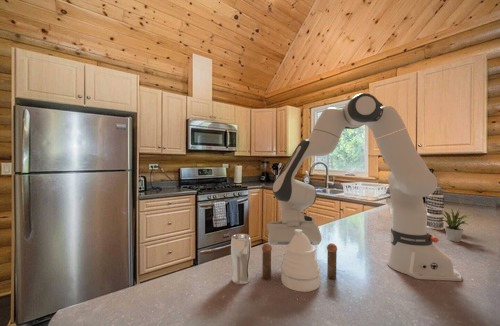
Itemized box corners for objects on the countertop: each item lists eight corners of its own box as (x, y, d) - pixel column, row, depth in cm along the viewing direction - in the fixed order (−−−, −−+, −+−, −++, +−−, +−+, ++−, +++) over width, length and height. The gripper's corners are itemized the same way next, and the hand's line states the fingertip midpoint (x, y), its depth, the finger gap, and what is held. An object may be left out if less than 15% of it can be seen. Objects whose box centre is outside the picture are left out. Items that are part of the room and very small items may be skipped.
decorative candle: (425, 228, 143) (426, 187, 143) (424, 224, 151) (425, 185, 151) (444, 230, 138) (445, 188, 138) (443, 227, 146) (443, 186, 146)
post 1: (272, 276, 84) (272, 242, 84) (270, 280, 81) (270, 246, 81) (263, 274, 85) (263, 241, 85) (260, 279, 82) (260, 245, 82)
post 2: (336, 275, 85) (336, 242, 84) (337, 280, 81) (337, 245, 81) (326, 274, 85) (326, 241, 85) (326, 279, 82) (327, 244, 82)
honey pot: (313, 296, 72) (313, 237, 72) (274, 284, 79) (275, 230, 78) (324, 278, 83) (324, 227, 83) (289, 269, 90) (290, 221, 89)
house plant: (476, 248, 111) (476, 213, 111) (438, 242, 119) (438, 209, 119) (471, 240, 122) (472, 208, 122) (437, 234, 131) (438, 205, 131)
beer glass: (248, 286, 77) (248, 240, 77) (228, 284, 79) (228, 239, 79) (252, 276, 84) (252, 234, 84) (233, 274, 86) (233, 233, 85)
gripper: (267, 217, 94) (269, 251, 85) (318, 217, 94) (326, 251, 85) (266, 225, 99) (268, 258, 89) (315, 225, 99) (322, 258, 89)
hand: (296, 255), depth 87 cm, fingers closed, pressing on honey pot
